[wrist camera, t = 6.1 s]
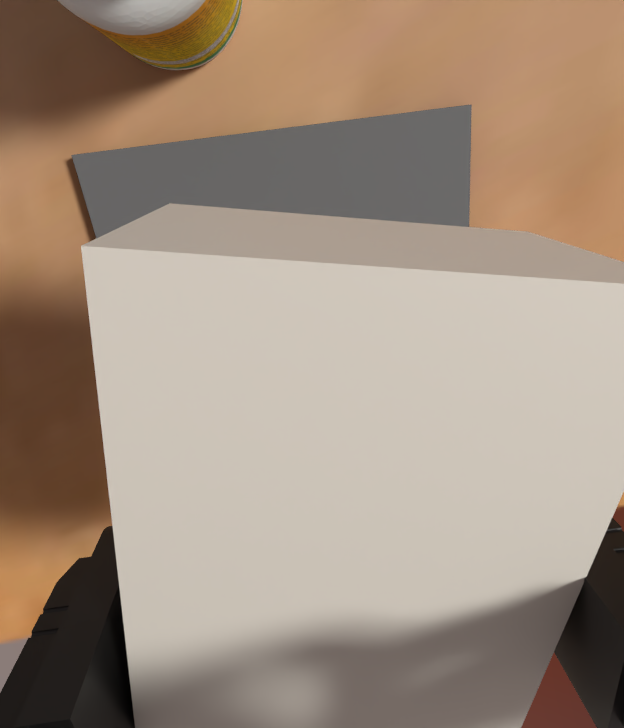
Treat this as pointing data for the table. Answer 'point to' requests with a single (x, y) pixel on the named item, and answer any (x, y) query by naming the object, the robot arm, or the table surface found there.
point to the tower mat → (296, 171)
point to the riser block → (350, 462)
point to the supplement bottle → (163, 28)
